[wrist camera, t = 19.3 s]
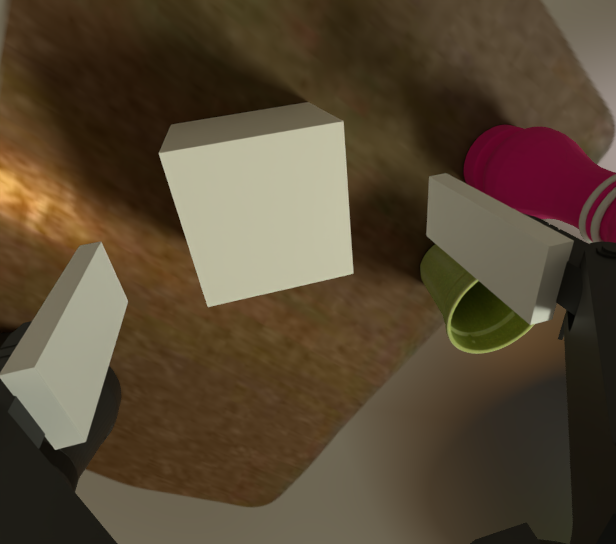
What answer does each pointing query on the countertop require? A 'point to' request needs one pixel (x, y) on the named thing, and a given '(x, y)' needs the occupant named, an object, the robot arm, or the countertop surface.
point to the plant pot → (469, 306)
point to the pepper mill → (544, 178)
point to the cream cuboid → (261, 199)
